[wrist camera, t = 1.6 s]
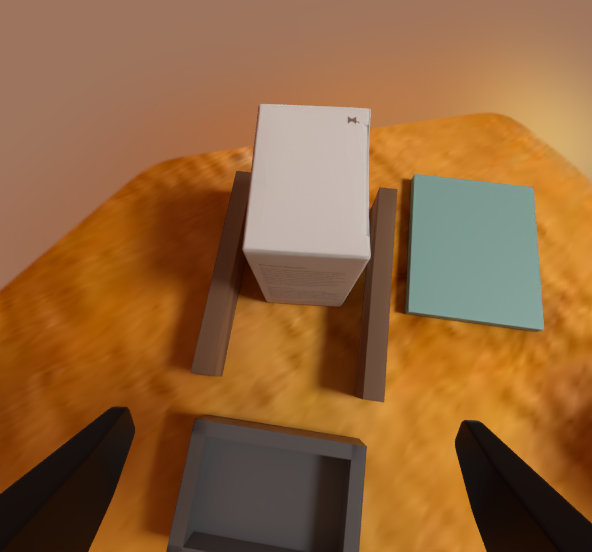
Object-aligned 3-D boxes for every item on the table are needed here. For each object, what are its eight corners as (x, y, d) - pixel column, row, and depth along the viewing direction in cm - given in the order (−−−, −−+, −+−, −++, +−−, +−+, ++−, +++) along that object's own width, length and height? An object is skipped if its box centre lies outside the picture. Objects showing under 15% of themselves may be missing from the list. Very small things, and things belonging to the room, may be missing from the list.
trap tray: (359, 438, 21) (366, 446, 19) (348, 571, 19) (355, 598, 17) (206, 414, 22) (194, 419, 19) (180, 540, 20) (164, 562, 17)
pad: (526, 192, 26) (533, 187, 25) (536, 331, 23) (544, 330, 22) (411, 179, 27) (414, 173, 26) (404, 313, 24) (408, 311, 23)
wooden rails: (386, 210, 26) (397, 189, 23) (373, 399, 22) (384, 402, 19) (243, 193, 27) (236, 170, 24) (204, 373, 23) (190, 373, 20)
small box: (274, 205, 26) (257, 98, 16) (345, 209, 26) (372, 102, 16) (264, 304, 24) (237, 250, 14) (342, 309, 24) (372, 258, 14)
